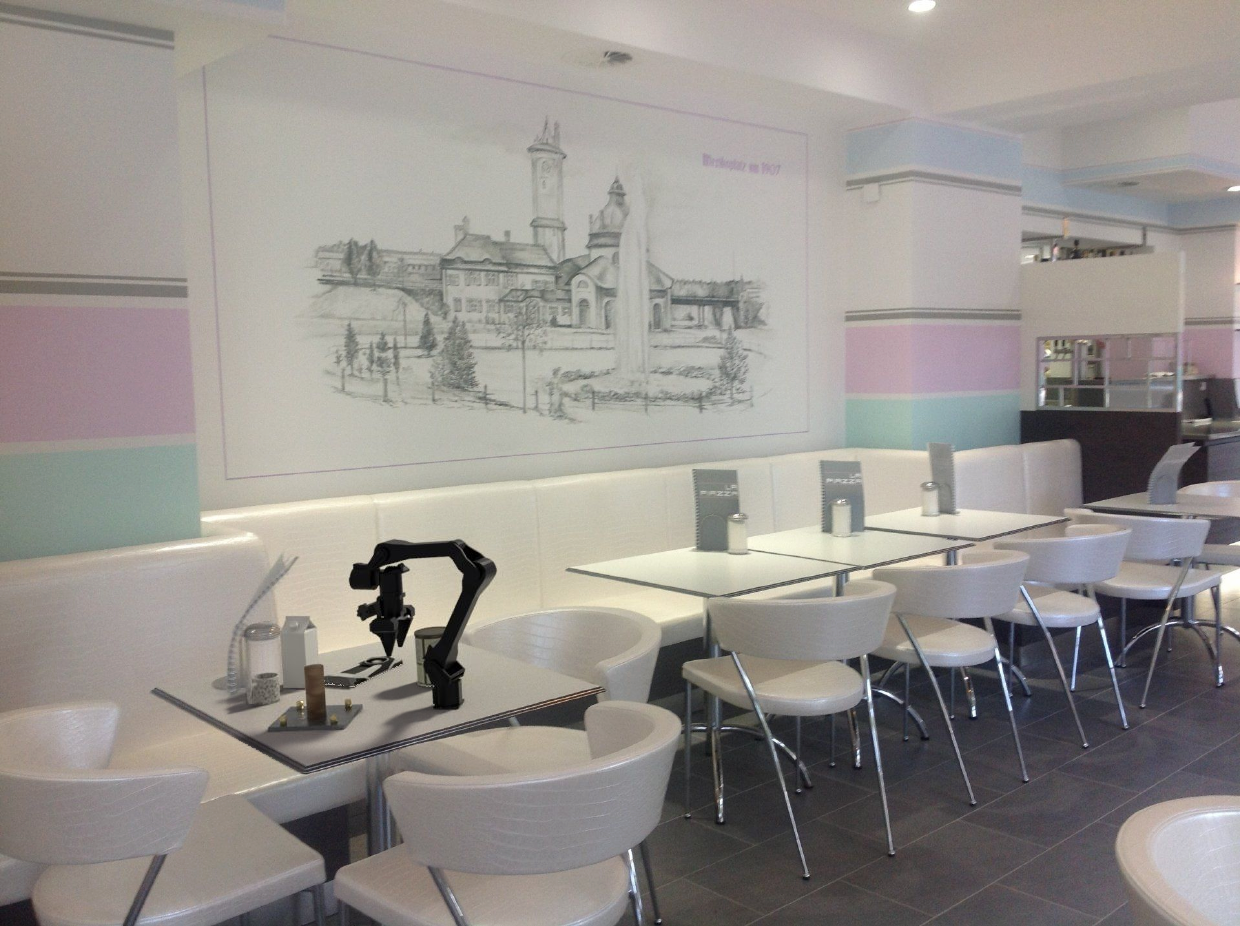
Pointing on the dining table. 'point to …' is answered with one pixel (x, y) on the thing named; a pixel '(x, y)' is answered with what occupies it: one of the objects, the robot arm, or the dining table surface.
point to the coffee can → (425, 649)
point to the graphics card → (363, 670)
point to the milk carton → (297, 649)
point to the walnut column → (315, 690)
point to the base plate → (299, 721)
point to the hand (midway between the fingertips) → (394, 651)
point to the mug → (264, 689)
